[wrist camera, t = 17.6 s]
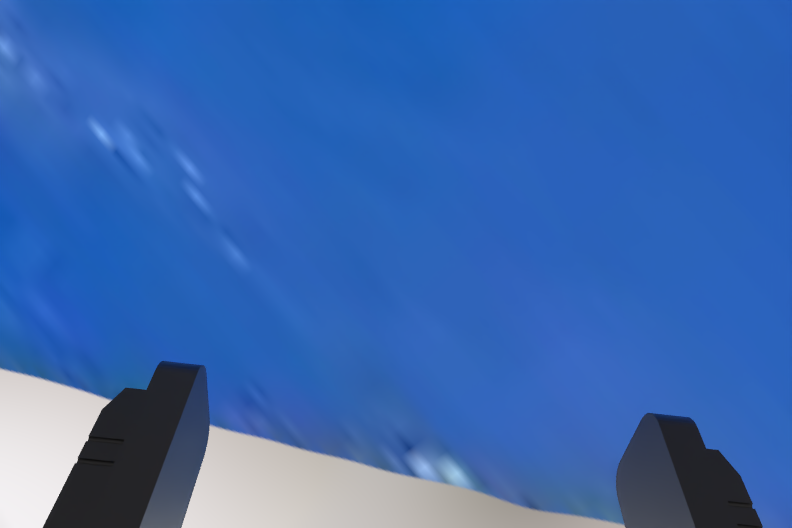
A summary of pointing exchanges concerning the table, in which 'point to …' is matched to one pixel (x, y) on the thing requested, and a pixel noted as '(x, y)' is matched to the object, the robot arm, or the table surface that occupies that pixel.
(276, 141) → the table surface
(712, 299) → the table surface
